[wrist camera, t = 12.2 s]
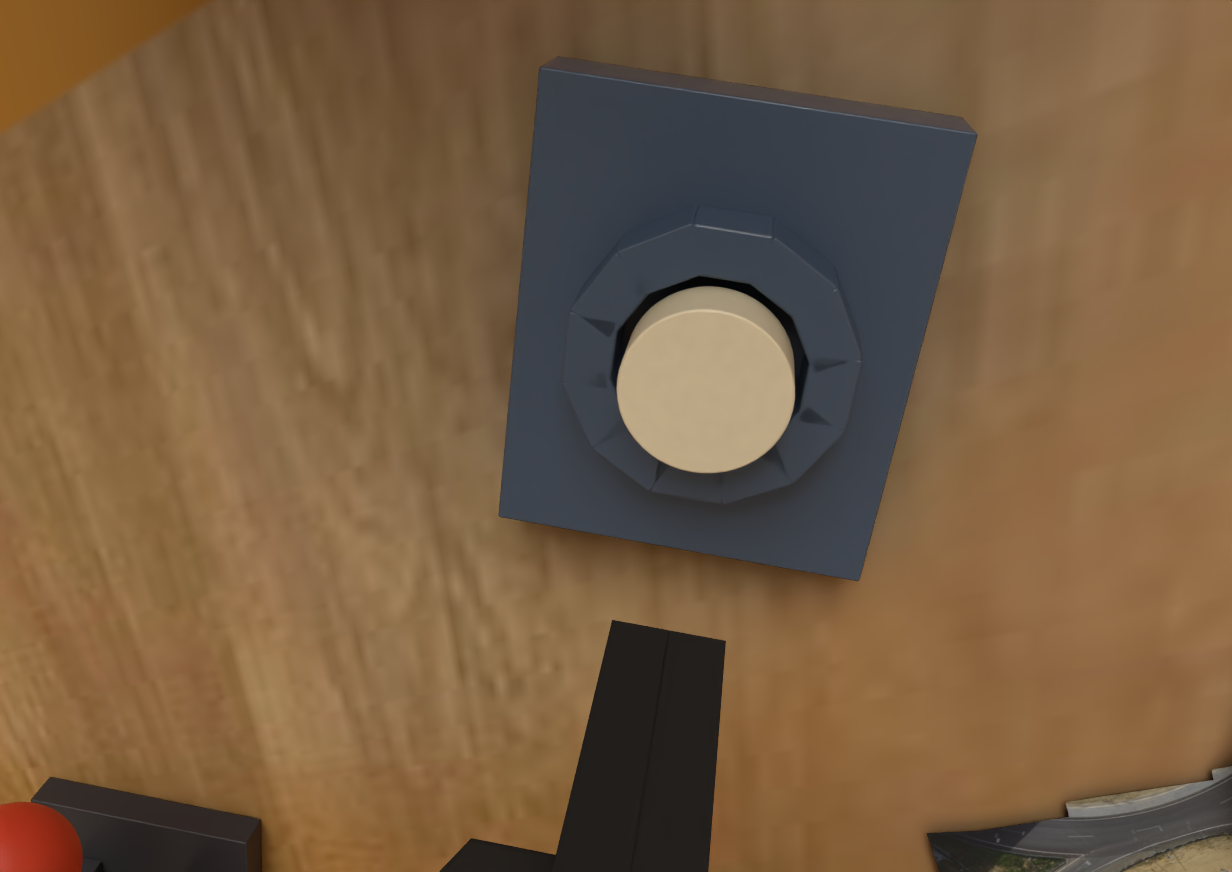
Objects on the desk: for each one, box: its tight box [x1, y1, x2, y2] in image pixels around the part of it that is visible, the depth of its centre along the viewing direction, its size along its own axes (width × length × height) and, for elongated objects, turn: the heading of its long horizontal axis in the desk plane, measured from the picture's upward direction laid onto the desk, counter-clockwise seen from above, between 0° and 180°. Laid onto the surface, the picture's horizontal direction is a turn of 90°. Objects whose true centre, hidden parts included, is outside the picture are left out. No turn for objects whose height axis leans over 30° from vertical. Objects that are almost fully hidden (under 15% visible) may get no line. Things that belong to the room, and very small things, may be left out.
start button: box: [616, 286, 795, 473], centre depth 26 cm, size 4×4×2 cm
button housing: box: [498, 56, 977, 581], centre depth 28 cm, size 12×10×4 cm
